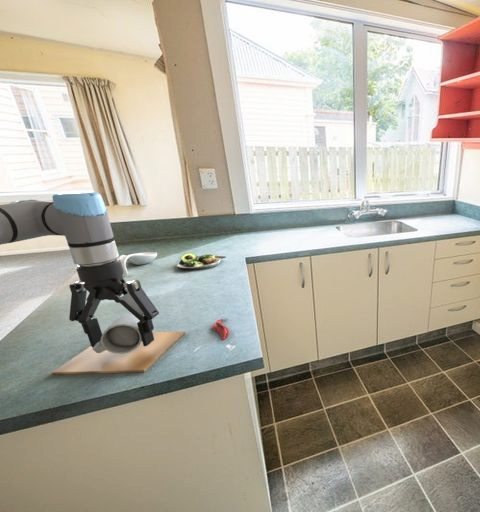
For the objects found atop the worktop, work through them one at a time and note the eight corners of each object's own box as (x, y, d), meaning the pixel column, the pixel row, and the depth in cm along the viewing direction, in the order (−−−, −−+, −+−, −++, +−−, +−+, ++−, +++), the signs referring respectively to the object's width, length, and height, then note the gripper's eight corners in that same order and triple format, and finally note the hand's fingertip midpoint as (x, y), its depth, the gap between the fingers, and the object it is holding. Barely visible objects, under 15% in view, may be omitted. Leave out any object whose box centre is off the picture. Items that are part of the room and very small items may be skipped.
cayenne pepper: (214, 321, 89) (213, 315, 88) (231, 318, 90) (230, 312, 90) (208, 343, 78) (207, 336, 77) (228, 339, 80) (227, 333, 79)
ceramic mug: (152, 332, 80) (145, 307, 77) (145, 349, 73) (136, 322, 70) (101, 342, 75) (92, 316, 73) (88, 361, 68) (77, 333, 66)
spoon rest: (135, 259, 142) (131, 245, 139) (163, 257, 144) (159, 243, 142) (104, 277, 120) (99, 261, 118) (138, 275, 123) (134, 258, 121)
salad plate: (227, 255, 149) (226, 246, 147) (227, 266, 134) (225, 256, 132) (182, 260, 141) (180, 251, 139) (176, 273, 125) (173, 262, 124)
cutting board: (52, 374, 66) (51, 372, 66) (111, 334, 81) (110, 332, 81) (144, 372, 67) (144, 370, 67) (185, 333, 82) (185, 331, 82)
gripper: (163, 255, 71) (182, 334, 78) (59, 256, 70) (87, 336, 77) (140, 266, 64) (163, 351, 71) (24, 267, 63) (58, 354, 69)
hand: (123, 343), depth 74 cm, fingers closed on ceramic mug, 11 cm apart
